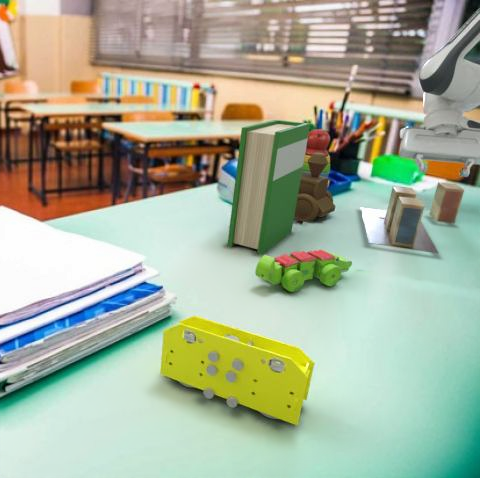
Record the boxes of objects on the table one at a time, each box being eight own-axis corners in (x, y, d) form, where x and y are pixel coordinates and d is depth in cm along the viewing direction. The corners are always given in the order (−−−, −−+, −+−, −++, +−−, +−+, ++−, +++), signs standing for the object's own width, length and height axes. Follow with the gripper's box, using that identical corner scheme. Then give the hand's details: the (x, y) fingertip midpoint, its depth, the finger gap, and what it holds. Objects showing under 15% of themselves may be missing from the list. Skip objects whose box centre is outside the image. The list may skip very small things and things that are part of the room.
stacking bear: (294, 183, 153) (304, 125, 146) (328, 188, 148) (340, 129, 142) (285, 190, 144) (295, 129, 138) (321, 196, 139) (334, 133, 133)
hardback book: (261, 254, 97) (280, 132, 89) (227, 245, 101) (241, 127, 93) (291, 232, 111) (310, 123, 102) (260, 224, 115) (275, 119, 106)
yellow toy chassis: (158, 381, 59) (162, 321, 56) (177, 358, 63) (182, 301, 60) (295, 434, 51) (309, 367, 48) (305, 403, 56) (319, 341, 53)
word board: (415, 217, 124) (416, 214, 124) (438, 256, 100) (439, 252, 100) (359, 210, 129) (360, 206, 128) (367, 246, 104) (368, 242, 104)
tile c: (446, 218, 125) (456, 183, 121) (454, 226, 119) (464, 190, 116) (428, 216, 126) (438, 182, 122) (435, 223, 120) (445, 188, 117)
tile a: (402, 224, 116) (412, 187, 113) (406, 233, 110) (416, 194, 107) (384, 222, 117) (392, 185, 114) (386, 230, 112) (396, 192, 108)
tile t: (409, 238, 107) (419, 198, 104) (413, 248, 102) (424, 206, 98) (388, 235, 108) (398, 196, 105) (391, 244, 103) (402, 203, 100)
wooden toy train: (240, 208, 126) (248, 143, 120) (261, 200, 134) (270, 138, 128) (316, 228, 114) (330, 156, 108) (335, 217, 121) (349, 150, 115)
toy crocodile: (330, 267, 93) (337, 237, 91) (358, 282, 87) (365, 250, 85) (242, 280, 86) (247, 248, 84) (265, 298, 80) (271, 263, 78)
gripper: (403, 118, 130) (403, 162, 125) (492, 124, 125) (495, 170, 119) (395, 133, 135) (395, 175, 130) (480, 139, 130) (483, 184, 125)
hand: (444, 173), depth 125 cm, fingers open, 8 cm apart
